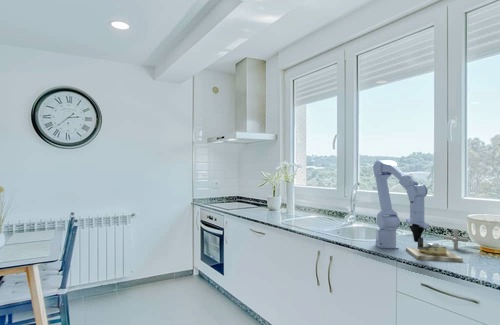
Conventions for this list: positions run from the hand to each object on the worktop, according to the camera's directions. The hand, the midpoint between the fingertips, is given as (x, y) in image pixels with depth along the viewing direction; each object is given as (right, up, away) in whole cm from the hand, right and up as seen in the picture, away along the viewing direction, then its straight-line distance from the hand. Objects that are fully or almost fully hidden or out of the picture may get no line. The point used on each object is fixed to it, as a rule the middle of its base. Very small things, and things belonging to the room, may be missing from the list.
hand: (417, 241), depth 141 cm
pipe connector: (+27, -8, +15) cm, 32 cm away
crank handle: (+6, -5, +1) cm, 8 cm away
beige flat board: (+8, -7, +3) cm, 11 cm away
